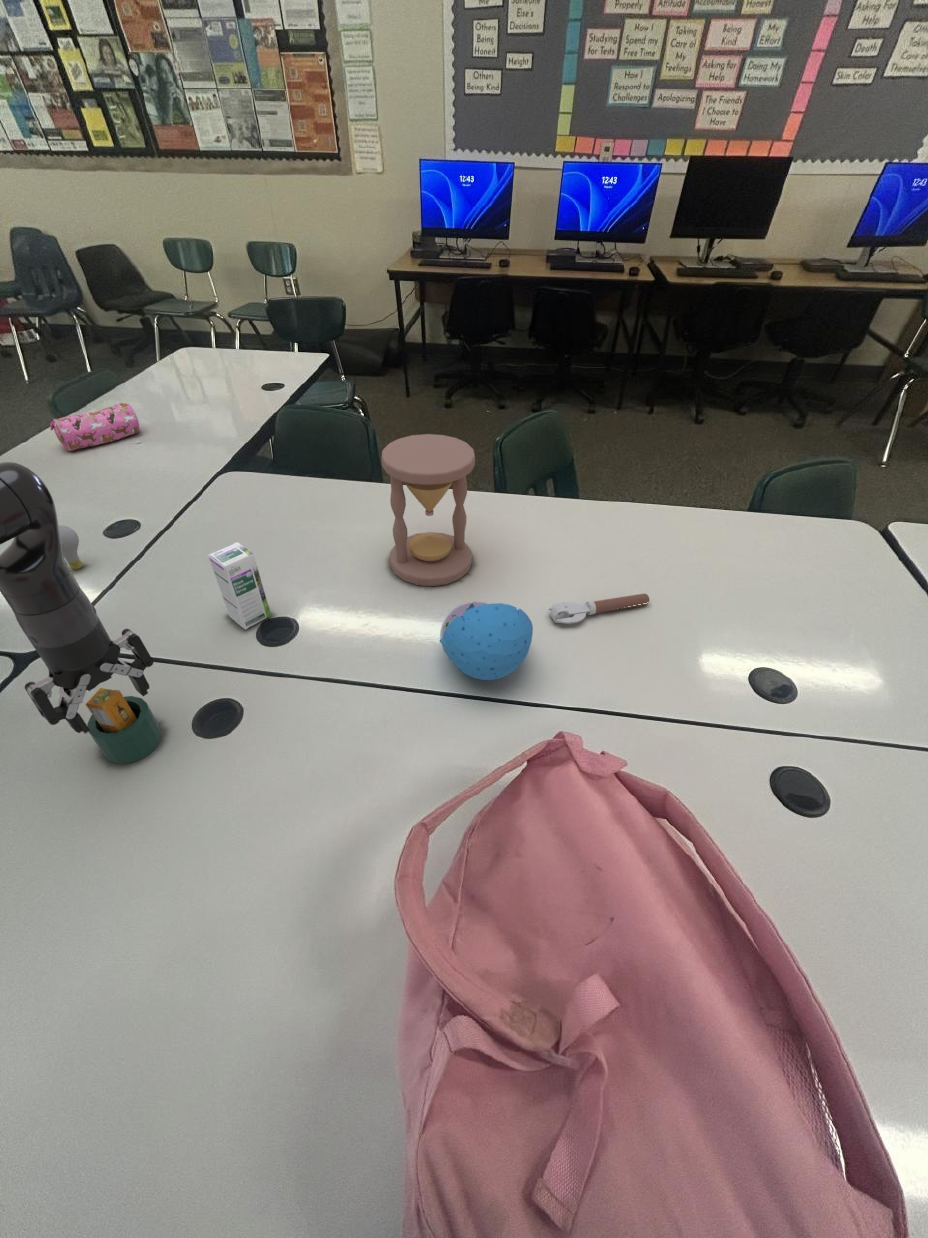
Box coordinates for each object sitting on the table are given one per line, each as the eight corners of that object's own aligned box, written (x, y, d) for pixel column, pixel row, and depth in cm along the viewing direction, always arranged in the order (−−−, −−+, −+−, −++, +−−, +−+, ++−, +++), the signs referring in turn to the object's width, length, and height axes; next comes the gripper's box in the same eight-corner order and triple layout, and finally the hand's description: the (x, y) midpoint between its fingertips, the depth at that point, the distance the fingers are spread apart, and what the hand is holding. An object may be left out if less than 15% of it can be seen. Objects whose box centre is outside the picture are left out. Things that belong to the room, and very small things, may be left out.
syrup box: (245, 631, 104) (224, 566, 94) (228, 616, 107) (206, 553, 97) (271, 616, 107) (254, 553, 98) (254, 602, 110) (236, 540, 101)
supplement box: (127, 730, 86) (100, 685, 79) (147, 734, 85) (122, 689, 79) (112, 747, 83) (83, 703, 77) (132, 752, 83) (105, 707, 76)
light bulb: (57, 570, 117) (34, 529, 110) (83, 558, 120) (62, 517, 114) (71, 579, 115) (48, 537, 108) (97, 566, 118) (77, 525, 112)
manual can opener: (633, 590, 115) (636, 578, 113) (650, 607, 111) (654, 595, 109) (544, 612, 109) (545, 600, 107) (559, 632, 105) (561, 620, 103)
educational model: (512, 621, 107) (518, 556, 97) (539, 695, 93) (549, 628, 83) (431, 630, 105) (429, 564, 95) (445, 707, 91) (445, 639, 81)
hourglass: (395, 591, 114) (385, 477, 97) (386, 544, 126) (376, 436, 110) (479, 581, 116) (484, 469, 100) (462, 536, 129) (464, 430, 113)
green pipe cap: (122, 773, 81) (105, 748, 77) (94, 746, 84) (76, 720, 80) (171, 738, 85) (158, 712, 81) (143, 713, 89) (129, 688, 85)
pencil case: (133, 426, 174) (122, 397, 168) (146, 435, 169) (135, 405, 163) (57, 447, 162) (43, 416, 156) (69, 457, 157) (55, 426, 151)
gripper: (104, 585, 75) (146, 670, 86) (-15, 644, 67) (49, 730, 77) (134, 607, 72) (175, 692, 83) (14, 671, 63) (76, 757, 74)
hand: (114, 710), depth 80 cm, fingers open, 8 cm apart
